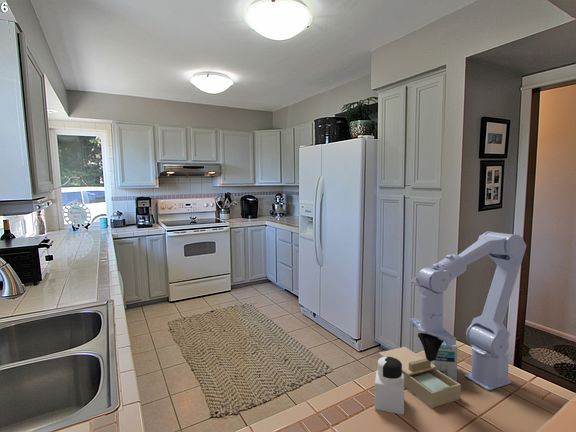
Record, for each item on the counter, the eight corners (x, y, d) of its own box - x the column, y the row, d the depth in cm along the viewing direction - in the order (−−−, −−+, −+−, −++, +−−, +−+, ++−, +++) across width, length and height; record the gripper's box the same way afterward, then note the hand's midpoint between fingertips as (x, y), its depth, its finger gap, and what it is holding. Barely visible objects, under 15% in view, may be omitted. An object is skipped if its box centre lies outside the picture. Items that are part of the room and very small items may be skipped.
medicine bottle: (403, 398, 88) (404, 355, 87) (403, 415, 81) (404, 369, 80) (376, 393, 90) (376, 351, 89) (374, 409, 83) (374, 364, 82)
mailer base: (424, 374, 99) (424, 361, 99) (460, 398, 87) (460, 384, 87) (397, 381, 96) (398, 368, 95) (431, 408, 83) (432, 393, 83)
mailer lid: (404, 348, 107) (404, 340, 107) (436, 368, 95) (436, 359, 95) (378, 354, 104) (378, 346, 103) (408, 375, 91) (408, 366, 91)
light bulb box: (457, 382, 95) (458, 346, 94) (433, 379, 96) (433, 344, 96) (447, 363, 105) (447, 331, 105) (425, 361, 107) (425, 329, 106)
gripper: (401, 305, 94) (401, 350, 95) (441, 323, 81) (440, 376, 82) (420, 302, 97) (420, 346, 98) (462, 319, 83) (461, 370, 84)
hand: (430, 359), depth 90 cm, fingers closed
